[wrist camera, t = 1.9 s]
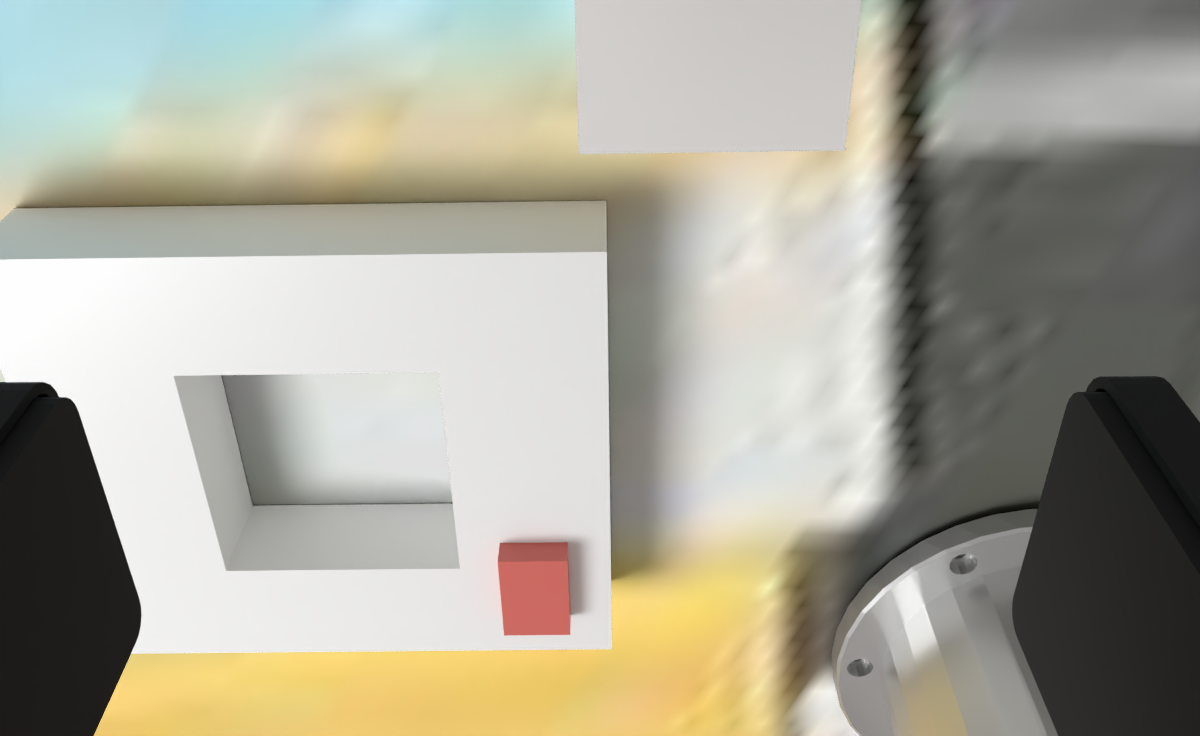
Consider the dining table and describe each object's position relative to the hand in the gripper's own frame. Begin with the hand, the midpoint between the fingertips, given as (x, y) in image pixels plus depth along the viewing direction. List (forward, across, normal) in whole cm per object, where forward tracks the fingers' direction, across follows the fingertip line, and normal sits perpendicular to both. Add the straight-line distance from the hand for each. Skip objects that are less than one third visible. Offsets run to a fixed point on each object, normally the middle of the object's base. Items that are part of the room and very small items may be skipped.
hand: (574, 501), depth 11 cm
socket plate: (+19, +8, +13) cm, 24 cm away
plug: (+19, -2, -1) cm, 19 cm away
